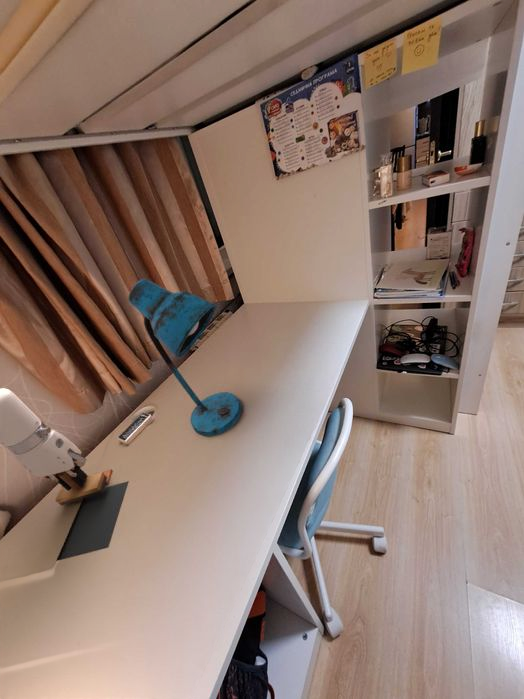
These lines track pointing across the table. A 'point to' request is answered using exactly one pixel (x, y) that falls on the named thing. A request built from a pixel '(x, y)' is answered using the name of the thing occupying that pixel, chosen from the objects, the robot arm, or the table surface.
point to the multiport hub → (135, 428)
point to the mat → (94, 522)
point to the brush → (80, 488)
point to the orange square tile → (108, 475)
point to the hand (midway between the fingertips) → (77, 483)
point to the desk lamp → (184, 346)
